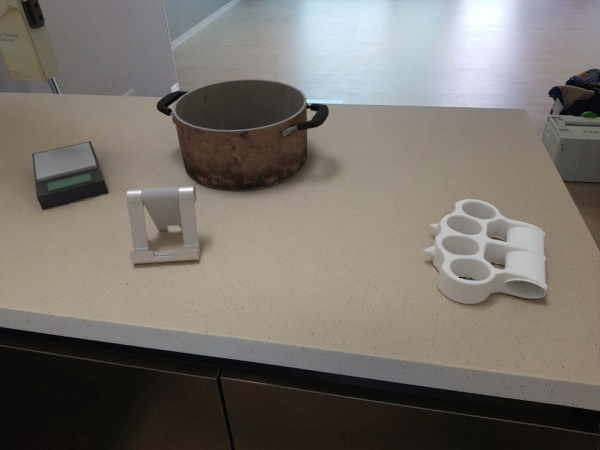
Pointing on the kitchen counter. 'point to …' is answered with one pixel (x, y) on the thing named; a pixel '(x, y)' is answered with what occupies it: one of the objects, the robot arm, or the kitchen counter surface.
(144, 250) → the tablet stand
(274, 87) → the cooking pot
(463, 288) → the white brass knuckles
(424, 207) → the kitchen counter surface
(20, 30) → the cosmetic box
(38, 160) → the scale
